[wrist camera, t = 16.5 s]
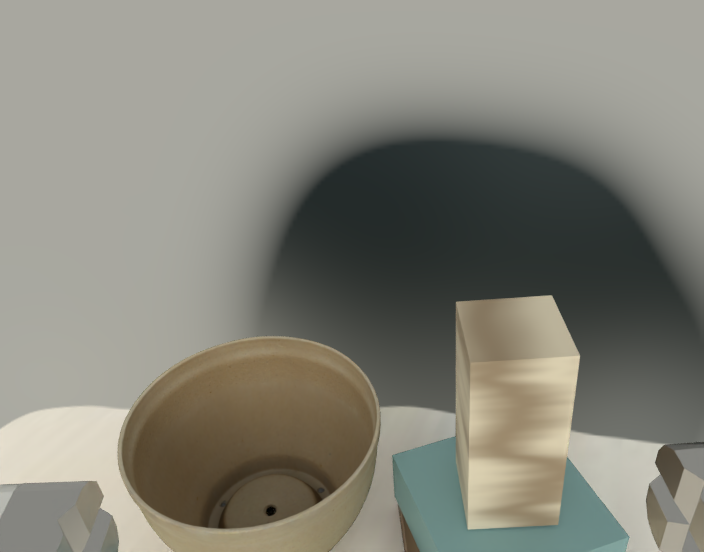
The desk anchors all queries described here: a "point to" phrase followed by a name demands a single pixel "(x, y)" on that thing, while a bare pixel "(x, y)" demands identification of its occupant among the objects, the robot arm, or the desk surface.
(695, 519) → the robot arm
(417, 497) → the teal top block
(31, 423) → the desk surface
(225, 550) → the planter bowl
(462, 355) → the ash pillar block
